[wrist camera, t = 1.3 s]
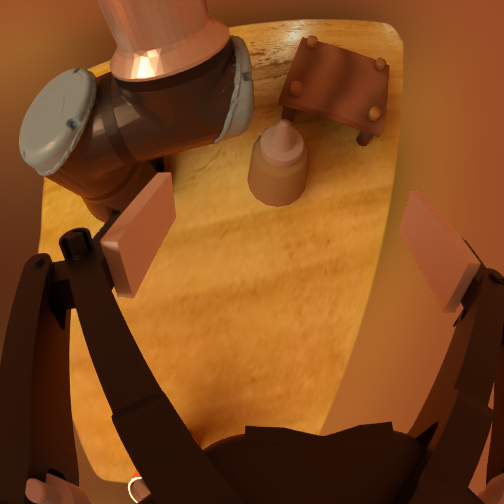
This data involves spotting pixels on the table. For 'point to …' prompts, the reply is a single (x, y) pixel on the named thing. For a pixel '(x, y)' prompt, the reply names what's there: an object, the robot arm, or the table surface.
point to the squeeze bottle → (278, 165)
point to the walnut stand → (337, 87)
